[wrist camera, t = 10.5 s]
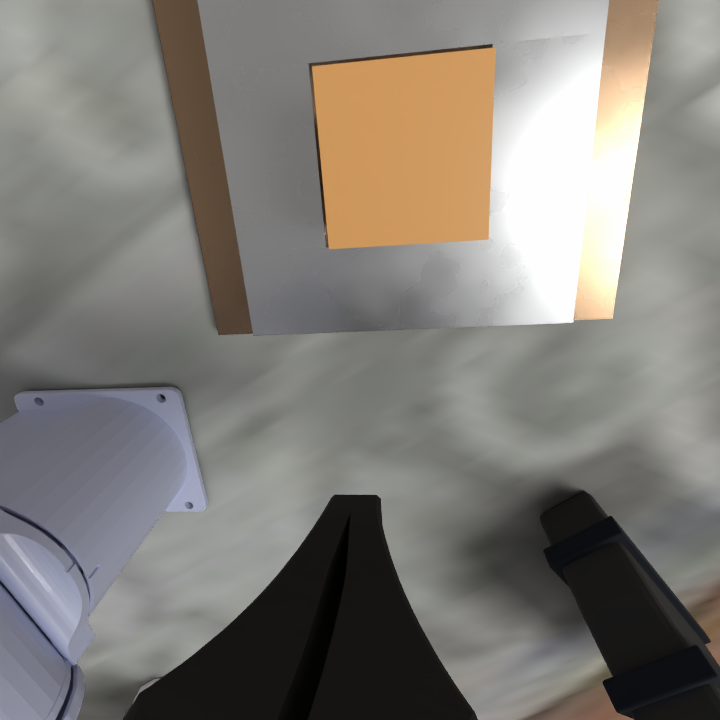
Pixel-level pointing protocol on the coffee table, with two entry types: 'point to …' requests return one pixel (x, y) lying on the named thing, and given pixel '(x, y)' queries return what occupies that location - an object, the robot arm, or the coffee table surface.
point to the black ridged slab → (632, 618)
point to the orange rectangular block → (406, 148)
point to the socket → (508, 167)
